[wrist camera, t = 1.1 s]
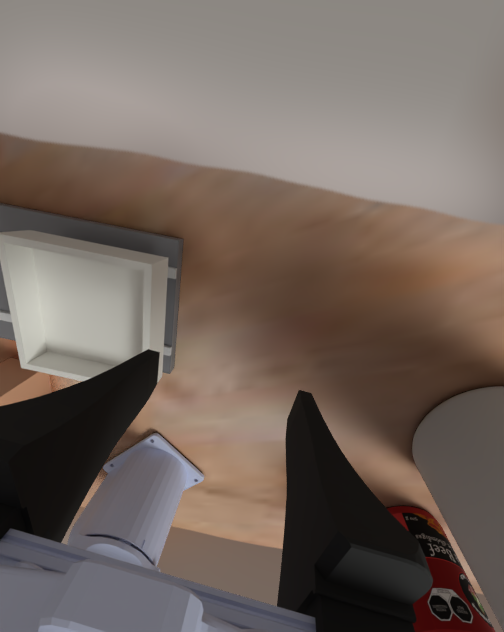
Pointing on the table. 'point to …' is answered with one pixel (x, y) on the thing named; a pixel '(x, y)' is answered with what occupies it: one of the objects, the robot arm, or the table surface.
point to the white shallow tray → (82, 303)
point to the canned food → (442, 580)
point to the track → (106, 234)
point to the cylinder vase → (469, 480)
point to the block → (21, 382)
